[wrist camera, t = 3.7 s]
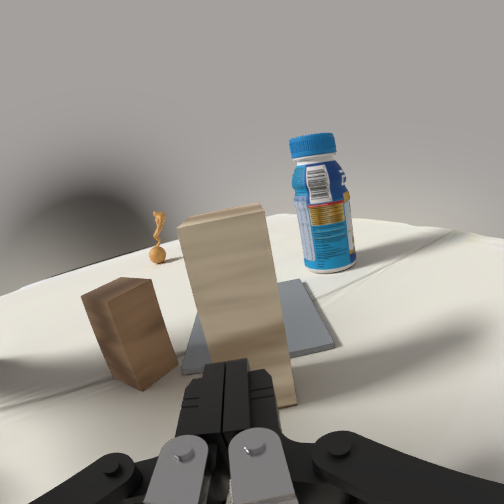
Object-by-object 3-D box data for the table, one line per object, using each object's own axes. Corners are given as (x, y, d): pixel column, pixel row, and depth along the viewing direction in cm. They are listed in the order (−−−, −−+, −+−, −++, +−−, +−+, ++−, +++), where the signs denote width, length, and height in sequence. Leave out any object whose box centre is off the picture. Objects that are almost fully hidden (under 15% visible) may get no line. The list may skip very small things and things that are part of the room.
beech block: (297, 405, 21) (264, 210, 18) (229, 416, 21) (176, 228, 18) (288, 367, 26) (259, 202, 23) (230, 378, 26) (190, 216, 23)
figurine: (152, 261, 77) (140, 213, 74) (175, 255, 78) (164, 207, 75) (150, 269, 69) (137, 216, 66) (176, 262, 70) (164, 209, 67)
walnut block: (113, 377, 28) (80, 296, 26) (147, 354, 32) (121, 277, 30) (142, 391, 26) (107, 301, 23) (178, 364, 29) (151, 279, 27)
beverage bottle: (293, 270, 50) (271, 142, 45) (328, 254, 55) (309, 139, 50) (334, 278, 44) (312, 132, 39) (367, 259, 48) (350, 130, 43)
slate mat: (334, 347, 27) (334, 342, 27) (183, 374, 27) (181, 369, 27) (300, 282, 45) (299, 278, 45) (202, 300, 45) (201, 297, 45)
